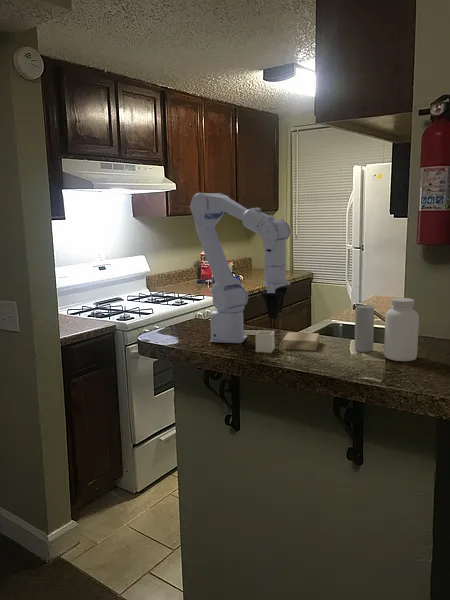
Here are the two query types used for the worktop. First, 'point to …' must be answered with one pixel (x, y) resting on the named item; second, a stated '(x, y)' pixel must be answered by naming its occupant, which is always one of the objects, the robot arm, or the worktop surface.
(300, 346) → the maple block
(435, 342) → the worktop surface
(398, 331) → the pill bottle
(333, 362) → the worktop surface
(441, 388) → the worktop surface
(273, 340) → the box
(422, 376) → the worktop surface
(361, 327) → the beverage can
